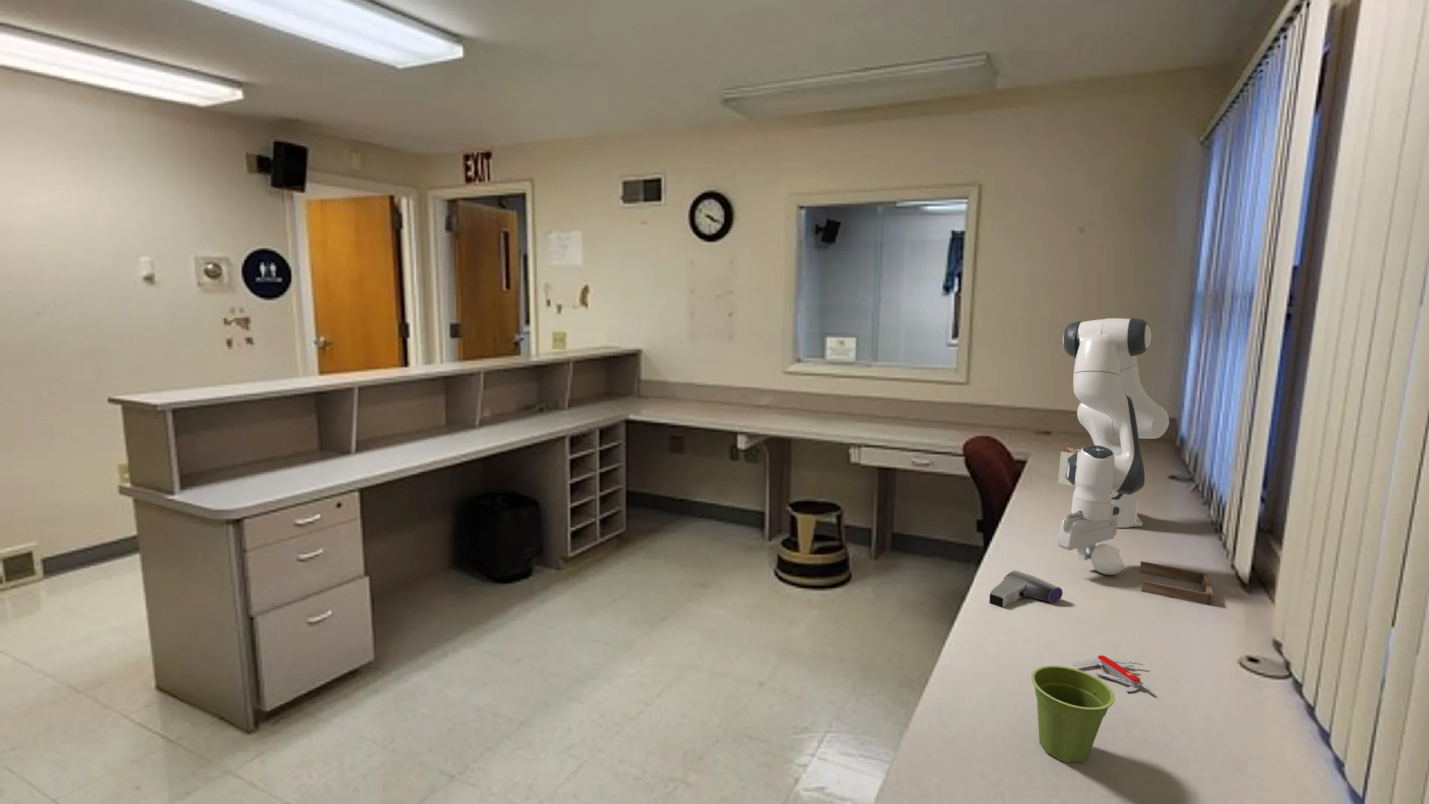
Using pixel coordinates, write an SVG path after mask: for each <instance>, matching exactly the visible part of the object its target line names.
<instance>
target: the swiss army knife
mask: <svg viewBox="0 0 1429 804" xmlns="http://www.w3.org/2000/svg"><path fill="white" fill-rule="evenodd" d="M1093 664H1096V666H1097V667H1099V668H1100V669H1101V670H1103V671H1104V672H1106V673H1108V674H1106V673H1104V672H1101V671H1094V673H1095V674H1096V675H1099V676H1102V677H1104V678H1108V679H1112V680H1115V681H1117V682H1119V683H1122V684H1124V685H1125V686H1127V688H1126V689H1125V692H1128V693H1132V692H1136V691H1138V690H1140V686H1141V687H1143V688H1144V689H1146V690H1147V691H1151V690H1152V689H1151V688H1150V687H1149V686H1148V685H1147V684H1145V683H1143V682H1142V681H1141V678H1140V677H1138V676H1137V675H1136V674H1134V673H1132V672H1130V671H1129V670H1127V669H1128V668H1135V665H1139V666H1140V665H1141V666H1144V663H1143V662H1138V661H1128V660H1123V659H1114V658H1108V657H1107V656H1105V655H1102V654H1101V655H1098V656H1097V657H1096V658H1094V659H1087V660H1086V659H1085V660H1080V661H1076V662H1074V663H1072V666H1074V667H1081V666H1088V665H1093Z"/></svg>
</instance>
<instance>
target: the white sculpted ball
mask: <svg viewBox="0 0 1429 804" xmlns="http://www.w3.org/2000/svg"><path fill="white" fill-rule="evenodd" d="M1120 552H1121V551H1120V549H1119V548H1117V547H1115V546H1113V545H1109V544H1106V543H1100V544H1098V545H1096V546H1095V548H1094V549H1093V551H1092V553H1091V559H1090V561H1091V564H1092V566H1093V568H1094V569H1095V570H1096V571H1097V572H1098V573H1101V574H1103V575H1105V576H1114V575H1118V574H1119V573H1121V572H1122V570H1124V568H1125V565H1124V564H1125V563H1124V562H1123V559H1122V558H1121V555H1120Z"/></svg>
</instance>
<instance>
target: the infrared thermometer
mask: <svg viewBox="0 0 1429 804" xmlns="http://www.w3.org/2000/svg"><path fill="white" fill-rule="evenodd" d="M1063 593H1064V592H1063V589H1062V588H1061V587H1059V586H1057V585H1055V584H1053V583H1051V582H1049V581H1046V580H1043V579H1042V578H1039V577H1037V576H1034V575H1031V574H1028V573H1024V572H1022V571H1019V570H1012V571H1010V572H1008V573H1007V574H1006V575H1005V576H1004V578H1003V580H1002V581H1001V582H1000V583H999V584H997V585H996V586H994V587H993V589H991V590H990V593H989V599H988V600H989V601H988V602H989V604H990V605H993V606H996V607H999V608H1002V609H1003V608H1004V607H1005V606H1007V605H1010V604H1013V603H1015V602H1016V601H1018V600H1020V599H1022V598H1025V597H1028V598H1033V599H1037V600H1042V601H1045V602H1049V603H1056V602H1058V601H1060V599H1061V598H1062V597H1063Z"/></svg>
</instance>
